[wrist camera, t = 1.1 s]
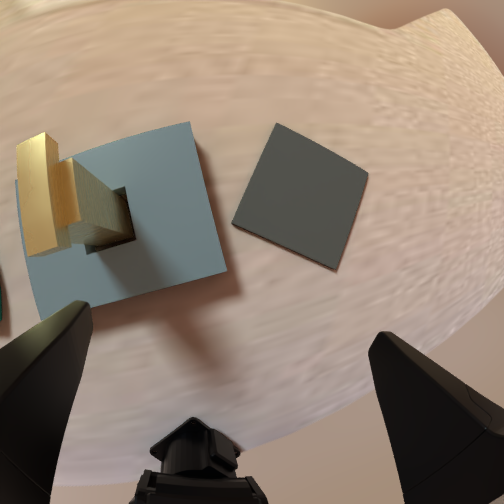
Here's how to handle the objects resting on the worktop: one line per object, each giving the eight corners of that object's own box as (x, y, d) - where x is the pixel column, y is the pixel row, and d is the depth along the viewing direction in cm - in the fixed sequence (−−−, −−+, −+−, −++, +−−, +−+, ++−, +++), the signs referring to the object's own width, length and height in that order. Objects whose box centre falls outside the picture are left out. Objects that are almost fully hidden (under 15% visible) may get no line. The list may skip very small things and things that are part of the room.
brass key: (136, 248, 23) (72, 241, 10) (104, 257, 22) (15, 261, 9) (124, 190, 23) (58, 126, 10) (92, 200, 22) (5, 151, 9)
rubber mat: (333, 269, 26) (335, 269, 26) (231, 223, 24) (231, 222, 24) (366, 173, 27) (368, 172, 27) (275, 124, 25) (276, 122, 25)
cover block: (223, 269, 24) (227, 271, 22) (53, 315, 21) (40, 320, 19) (189, 133, 24) (189, 121, 21) (28, 186, 21) (15, 180, 18)
